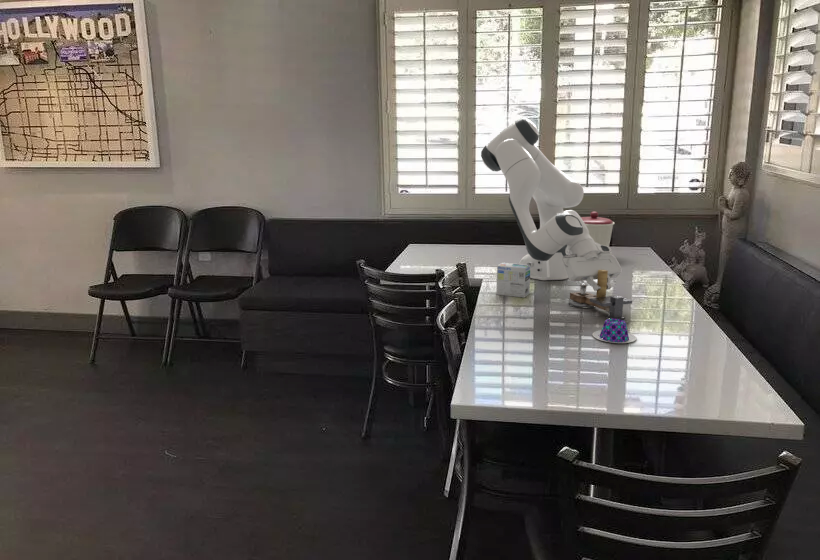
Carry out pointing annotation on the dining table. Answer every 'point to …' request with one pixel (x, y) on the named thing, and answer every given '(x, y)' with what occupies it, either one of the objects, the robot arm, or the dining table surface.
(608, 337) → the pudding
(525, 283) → the light bulb box
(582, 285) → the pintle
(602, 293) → the link
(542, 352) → the dining table surface
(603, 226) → the canister
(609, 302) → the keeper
